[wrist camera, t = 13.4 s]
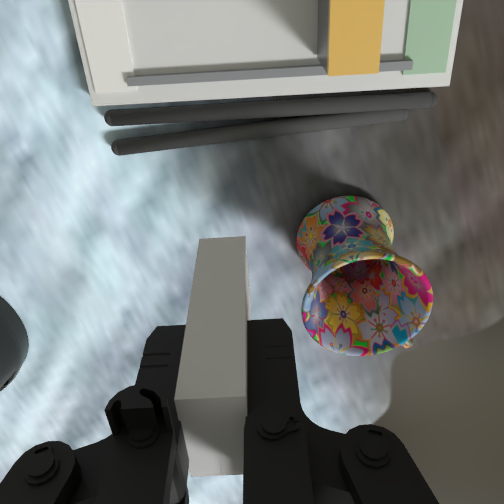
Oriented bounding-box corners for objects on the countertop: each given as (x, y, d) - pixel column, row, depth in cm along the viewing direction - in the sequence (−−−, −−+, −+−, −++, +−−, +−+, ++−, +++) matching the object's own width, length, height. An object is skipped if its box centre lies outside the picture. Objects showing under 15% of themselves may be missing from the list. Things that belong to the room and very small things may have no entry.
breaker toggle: (317, 57, 33) (328, 76, 29) (318, -26, 31) (331, -20, 26) (360, 55, 33) (378, 73, 29) (365, -29, 31) (386, -24, 26)
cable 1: (108, 123, 38) (104, 128, 37) (105, 108, 37) (100, 112, 36) (433, 105, 37) (438, 109, 36) (435, 89, 36) (441, 93, 35)
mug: (269, 228, 43) (275, 303, 34) (357, 165, 40) (389, 229, 31) (346, 308, 48) (368, 392, 39) (429, 258, 45) (474, 337, 36)
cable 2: (115, 152, 39) (112, 158, 38) (111, 138, 38) (107, 144, 37) (406, 117, 37) (410, 121, 36) (406, 101, 37) (411, 105, 36)
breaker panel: (98, 100, 37) (90, 108, 35) (63, -55, 31) (51, -55, 30) (442, 80, 36) (452, 88, 34) (467, -82, 31) (480, -83, 29)
